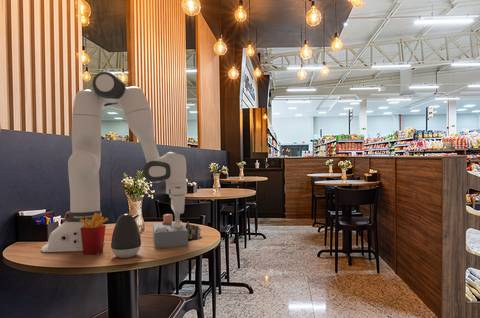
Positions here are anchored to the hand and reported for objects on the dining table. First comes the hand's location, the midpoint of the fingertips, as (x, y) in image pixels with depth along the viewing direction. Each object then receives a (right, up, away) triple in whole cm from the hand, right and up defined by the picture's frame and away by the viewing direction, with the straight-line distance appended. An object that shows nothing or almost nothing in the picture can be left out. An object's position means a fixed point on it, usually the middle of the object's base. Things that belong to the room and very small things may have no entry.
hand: (177, 221), depth 143 cm
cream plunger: (0, -5, 0) cm, 5 cm away
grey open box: (-3, -8, 0) cm, 9 cm away
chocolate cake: (+6, -9, +5) cm, 12 cm away
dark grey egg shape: (-14, -8, -24) cm, 29 cm away
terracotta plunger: (-6, -3, +8) cm, 10 cm away
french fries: (-27, -8, -18) cm, 33 cm away
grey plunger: (-4, -6, -9) cm, 11 cm away
